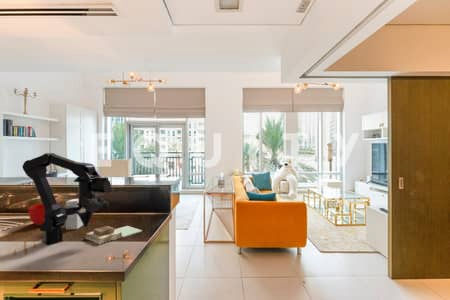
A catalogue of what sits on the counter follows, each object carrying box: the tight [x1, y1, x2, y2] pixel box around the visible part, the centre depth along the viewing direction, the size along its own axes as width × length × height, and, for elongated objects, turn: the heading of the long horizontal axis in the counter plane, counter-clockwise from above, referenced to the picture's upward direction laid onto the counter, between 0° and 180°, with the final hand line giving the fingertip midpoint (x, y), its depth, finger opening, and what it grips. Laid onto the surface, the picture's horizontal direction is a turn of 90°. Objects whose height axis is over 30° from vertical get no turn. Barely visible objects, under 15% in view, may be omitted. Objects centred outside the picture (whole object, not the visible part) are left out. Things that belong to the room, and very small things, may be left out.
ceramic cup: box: [28, 203, 45, 227], centre depth 145 cm, size 13×17×10 cm
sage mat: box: [114, 225, 143, 238], centre depth 132 cm, size 11×13×1 cm
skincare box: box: [65, 198, 84, 230], centre depth 138 cm, size 8×6×15 cm
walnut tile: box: [92, 225, 115, 236], centre depth 122 cm, size 7×6×2 cm
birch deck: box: [85, 230, 123, 245], centre depth 122 cm, size 11×12×2 cm
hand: (85, 226), depth 115 cm, fingers closed
